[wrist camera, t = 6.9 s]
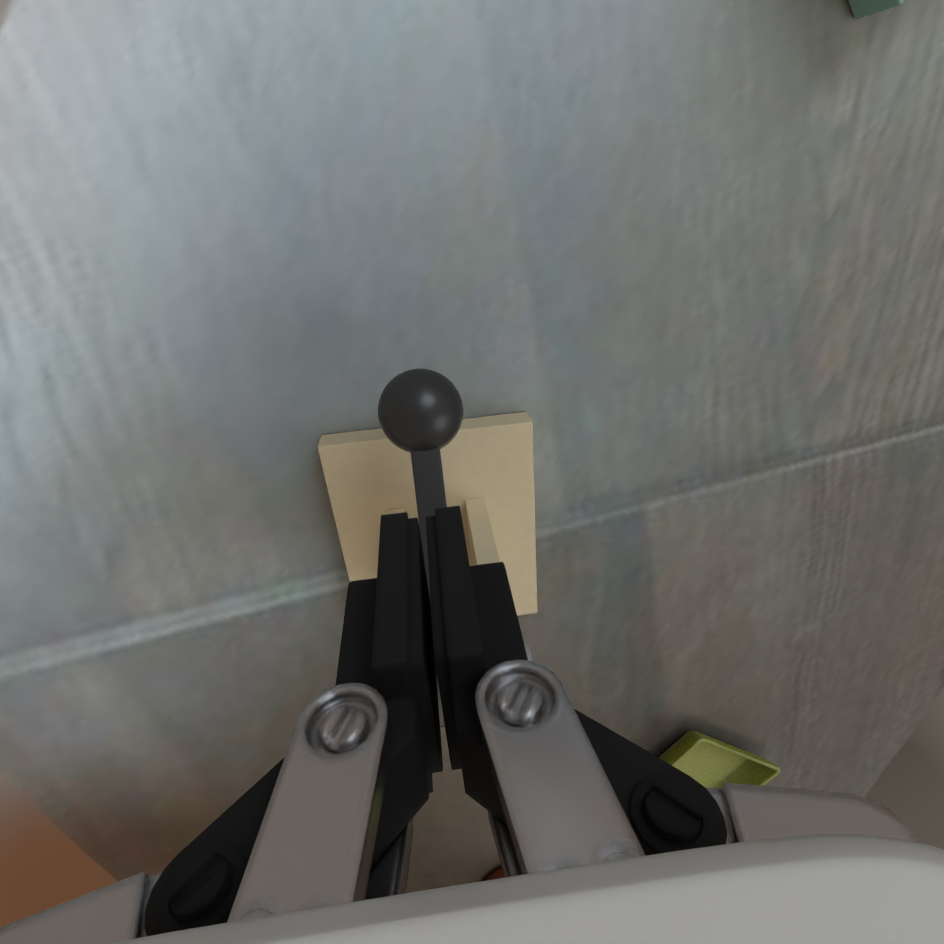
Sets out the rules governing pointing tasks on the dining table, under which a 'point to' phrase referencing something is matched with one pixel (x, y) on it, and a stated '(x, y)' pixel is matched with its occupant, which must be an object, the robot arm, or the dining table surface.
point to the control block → (871, 6)
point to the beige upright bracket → (466, 485)
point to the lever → (422, 437)
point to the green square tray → (717, 762)
